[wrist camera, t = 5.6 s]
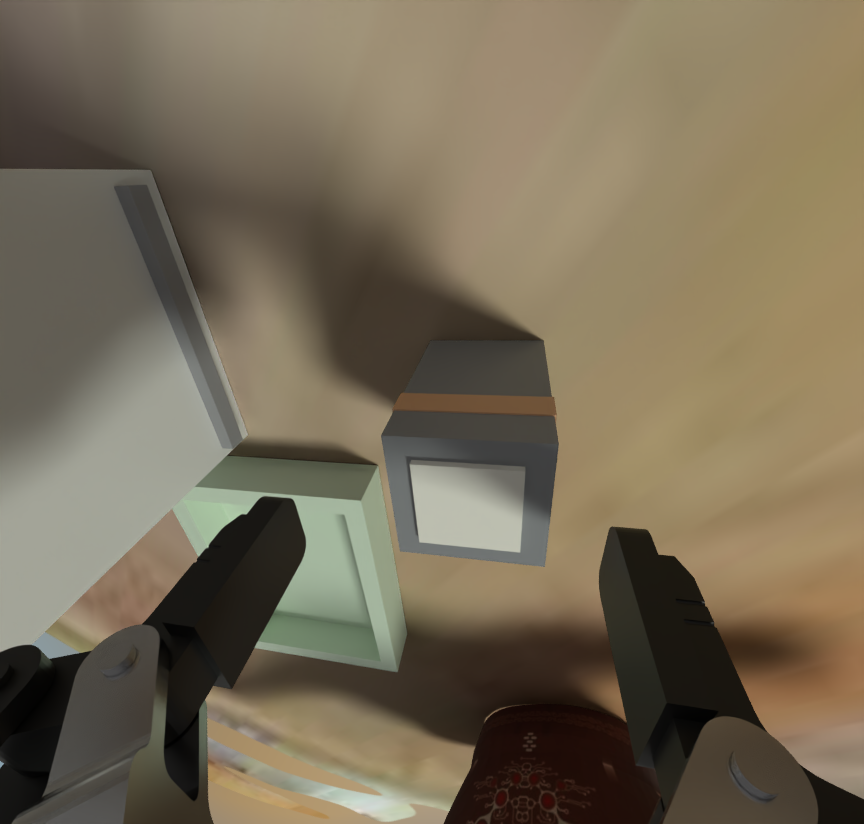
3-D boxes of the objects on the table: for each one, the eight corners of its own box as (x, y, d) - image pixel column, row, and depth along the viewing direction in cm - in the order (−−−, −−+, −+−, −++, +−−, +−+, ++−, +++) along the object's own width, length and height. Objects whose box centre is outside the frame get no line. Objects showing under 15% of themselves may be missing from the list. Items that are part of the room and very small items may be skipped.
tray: (377, 465, 20) (361, 500, 18) (407, 633, 28) (397, 672, 26) (193, 453, 22) (158, 483, 20) (267, 612, 30) (247, 646, 28)
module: (544, 339, 15) (561, 447, 9) (537, 436, 18) (546, 573, 12) (429, 339, 16) (376, 438, 10) (436, 431, 19) (397, 557, 13)
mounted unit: (164, 168, 15) (-953, 156, 4) (258, 435, 21) (-45, 740, 10) (39, 181, 16) (-1103, 201, 5) (162, 430, 22) (-207, 697, 11)
